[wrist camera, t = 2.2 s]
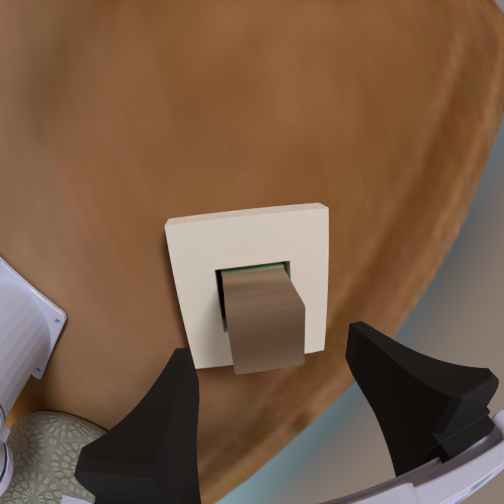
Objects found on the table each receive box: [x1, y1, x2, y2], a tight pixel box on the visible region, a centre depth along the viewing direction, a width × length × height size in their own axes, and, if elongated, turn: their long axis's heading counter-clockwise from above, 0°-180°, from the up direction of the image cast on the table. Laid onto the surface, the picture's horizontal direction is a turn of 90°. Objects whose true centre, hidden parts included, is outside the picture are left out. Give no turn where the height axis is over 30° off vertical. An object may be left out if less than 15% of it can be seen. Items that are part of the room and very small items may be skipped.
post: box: [221, 262, 305, 375], centre depth 16 cm, size 4×4×6 cm
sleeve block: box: [165, 203, 329, 369], centre depth 18 cm, size 10×9×2 cm
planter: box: [0, 411, 107, 504], centre depth 16 cm, size 17×17×15 cm
